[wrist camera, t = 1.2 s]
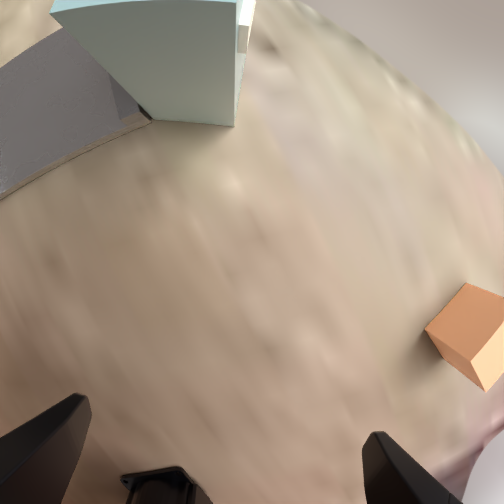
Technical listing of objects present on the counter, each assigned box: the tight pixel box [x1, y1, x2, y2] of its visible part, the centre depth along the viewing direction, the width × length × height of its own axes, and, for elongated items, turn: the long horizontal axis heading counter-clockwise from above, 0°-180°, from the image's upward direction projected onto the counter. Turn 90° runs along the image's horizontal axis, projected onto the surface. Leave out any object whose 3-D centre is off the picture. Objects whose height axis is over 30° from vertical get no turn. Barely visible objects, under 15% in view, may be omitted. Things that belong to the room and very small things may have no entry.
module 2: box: [425, 283, 504, 392], centre depth 18 cm, size 5×4×6 cm
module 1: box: [49, 0, 256, 127], centre depth 11 cm, size 6×5×13 cm
